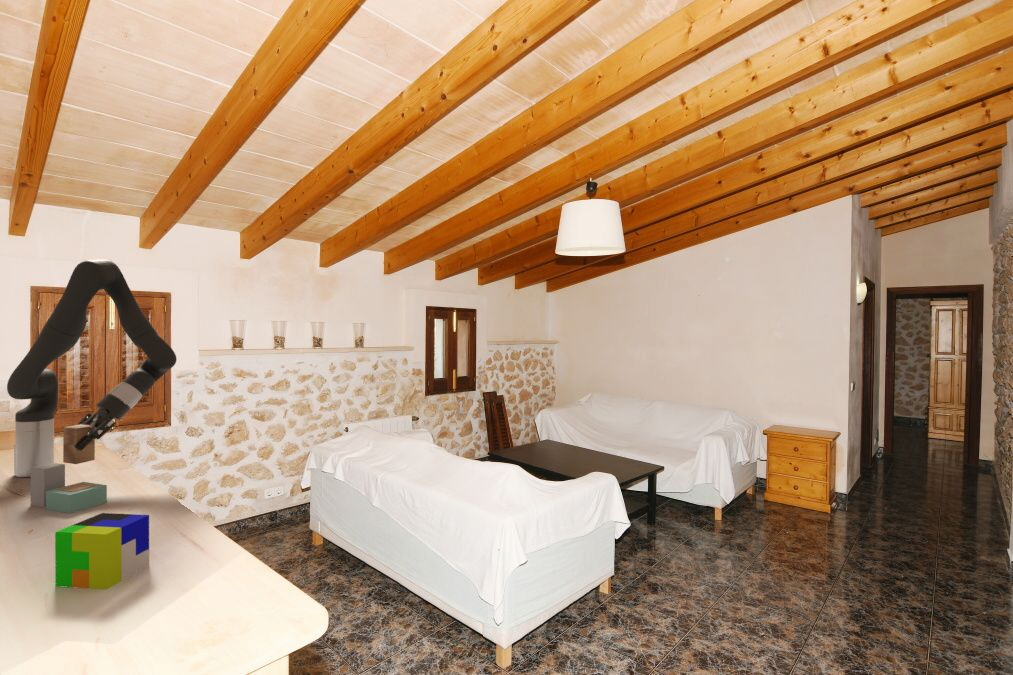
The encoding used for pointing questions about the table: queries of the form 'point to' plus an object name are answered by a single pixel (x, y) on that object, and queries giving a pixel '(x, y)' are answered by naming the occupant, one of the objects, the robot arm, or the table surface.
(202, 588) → the table surface
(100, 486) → the teal base block
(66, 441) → the walnut block
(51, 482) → the slate-grey block
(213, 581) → the table surface
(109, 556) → the puzzle toy
